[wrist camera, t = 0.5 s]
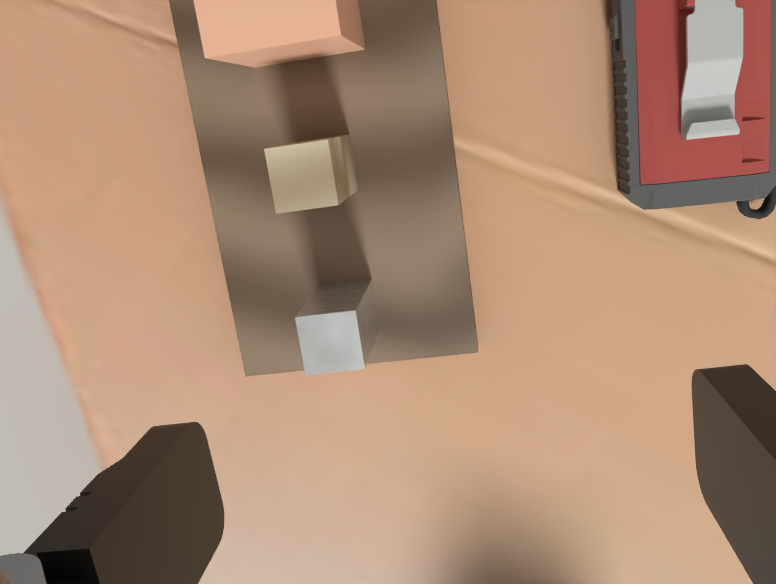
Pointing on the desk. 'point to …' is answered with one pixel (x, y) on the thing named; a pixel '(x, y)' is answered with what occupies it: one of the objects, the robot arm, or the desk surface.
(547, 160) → the desk surface
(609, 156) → the desk surface
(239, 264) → the board
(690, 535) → the desk surface
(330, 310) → the post
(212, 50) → the peach cube
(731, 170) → the walkie-talkie
